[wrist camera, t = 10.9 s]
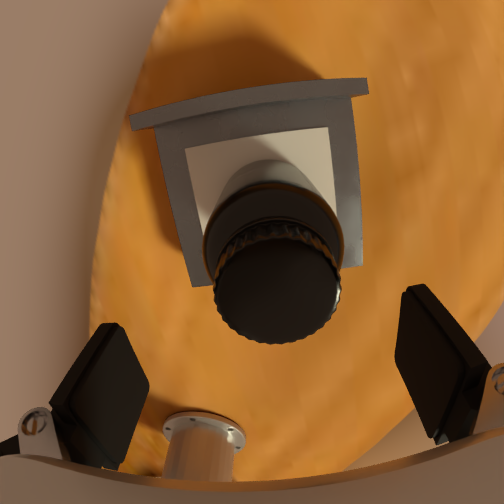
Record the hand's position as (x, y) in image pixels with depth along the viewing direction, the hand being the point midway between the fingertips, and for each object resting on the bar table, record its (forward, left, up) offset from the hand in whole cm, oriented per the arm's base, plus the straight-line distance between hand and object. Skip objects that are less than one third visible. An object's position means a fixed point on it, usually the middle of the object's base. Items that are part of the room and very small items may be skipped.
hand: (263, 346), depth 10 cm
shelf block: (+2, 0, -18) cm, 18 cm away
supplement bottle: (+1, -1, -14) cm, 14 cm away
